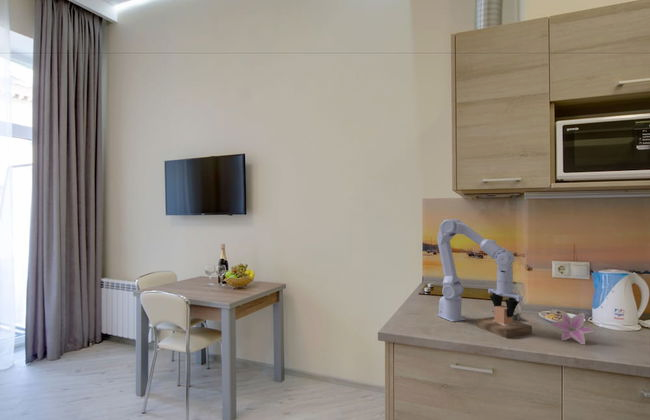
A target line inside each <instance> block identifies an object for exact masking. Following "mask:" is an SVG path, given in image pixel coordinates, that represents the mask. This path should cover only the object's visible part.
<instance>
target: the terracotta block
mask: <svg viewBox="0 0 650 420" xmlns="http://www.w3.org/2000/svg"><path fill="white" fill-rule="evenodd" d="M493 308H494V310H493V311H494V321H496V322H498V323H501V324H510V323H512V317H508V316H507V305H506V306H505V305H502V304H501V306H495V307H494V306H493Z"/></svg>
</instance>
